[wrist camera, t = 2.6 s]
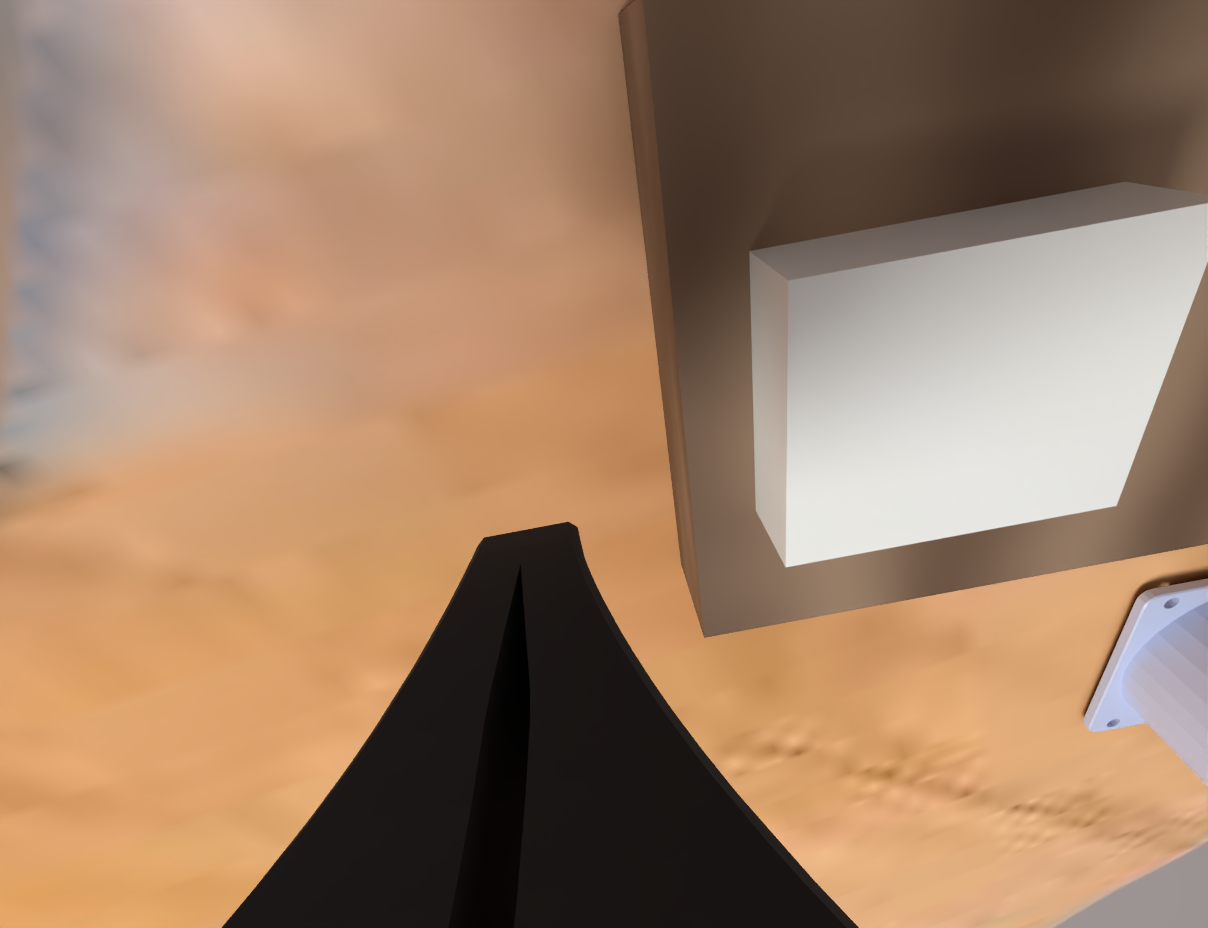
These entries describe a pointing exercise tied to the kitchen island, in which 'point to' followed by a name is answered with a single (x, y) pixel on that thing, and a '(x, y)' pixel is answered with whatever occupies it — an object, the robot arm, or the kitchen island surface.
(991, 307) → the tile
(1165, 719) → the robot arm
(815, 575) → the board
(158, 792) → the kitchen island surface
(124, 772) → the kitchen island surface
